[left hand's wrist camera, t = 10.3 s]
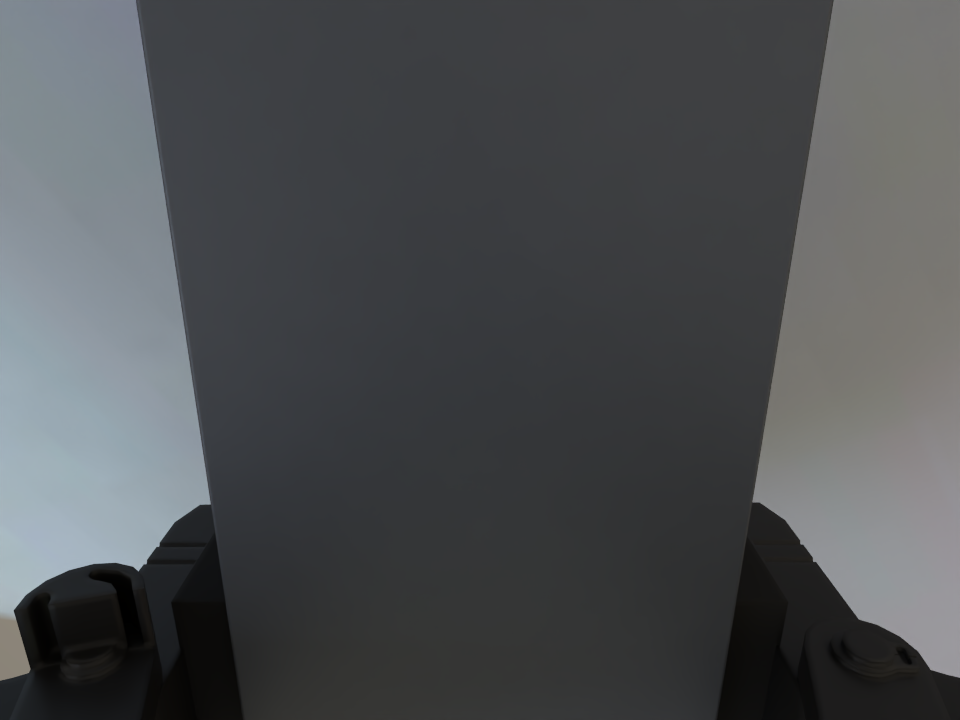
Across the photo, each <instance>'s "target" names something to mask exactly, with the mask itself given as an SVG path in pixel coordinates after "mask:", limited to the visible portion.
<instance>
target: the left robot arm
mask: <svg viewBox="0 0 960 720" xmlns="http://www.w3.org/2000/svg"><path fill="white" fill-rule="evenodd" d="M14 613H15V616H16V620H17V623H18V627H19V630H20V634H21V637H22V641H23V644H24V647H25V651H26V654H27V658H28V661H29V665H30V668H31V670H30V672H29V673H28V674H25V675H21V676H18V677H14V678H10V679H6V680H2V681H0V720H243V716H242V710H241V703H240V696H239V690H238V683H237V676H236V669H235V663H234V656H233V649H232V642H231V636H230V629H229V622H228V616H227V609H226V602H225V595H224V589H223V582H222V575H221V568H220V562H219V555H218V548H217V541H216V535H215V528H214V521H213V515H212V508H211V505H199V506H198V507H196V508H195V509H194V510H192V511H191V512H189V513H188V514H186V515H185V516H183V517H182V518H181V519H179V520H178V521H176V522H175V523H174V524H173V526H172V527H171V528H170V530H169V531H168V532H167V534H166V535H165V537H164V538H163V539H162V541H161V542H160V546H159V547H156V549H155V550H154V551H153V553H152V554H151V555H150V557H149V558H148V560H147V564H144V565H143V566H142V568H141V569H140V570H139V572H138V571H137V570H136V569H135V568H134V567H131V566H127V565H123V564H118V563H106V564H92V565H88V566H85V567H81V568H77V569H73V570H69V571H67V572H65V573H63V574H60V575H58V576H56V577H54V578H51V579H49V580H47V581H45V582H44V583H42V584H41V585H40V586H38V587H37V588H35V589H34V590H33V591H31V592H30V593H28V594H27V595H26V596H25V597H24V598H23V600H22V601H21V602H20V603H19V605H18V606H17V607H16V608H15V610H14ZM717 720H960V678H958V677H954V676H949V675H945V674H942V673H939V672H935V671H932V670H930V668H929V667H928V665H927V664H926V663H925V661H924V660H923V658H922V657H921V655H920V654H919V652H918V651H917V650H915V649H914V648H913V647H912V646H910V645H909V644H908V643H907V642H906V641H904V640H903V639H902V638H901V637H899V636H897V635H895V634H894V633H892V632H890V631H888V630H886V629H884V628H882V627H880V626H878V625H875V624H872V623H868V622H865V621H861V620H859V619H858V618H857V617H856V615H855V614H854V613H853V611H852V610H851V609H850V607H849V606H848V604H847V603H846V602H845V600H844V599H843V598H842V596H841V595H840V594H839V592H838V591H837V590H836V588H835V587H834V586H833V584H832V583H831V582H830V580H829V579H828V578H827V576H826V575H825V574H824V572H823V571H822V569H821V568H820V567H819V565H818V564H817V563H816V562H813V557H812V556H811V555H810V553H809V552H808V551H807V549H806V548H805V547H804V545H800V540H799V539H798V537H797V536H796V534H795V533H794V532H793V530H792V529H791V528H790V526H789V525H788V524H787V522H786V521H785V520H784V519H782V518H781V517H780V516H778V515H777V514H775V513H774V512H772V511H771V510H769V509H768V508H766V507H765V506H764V505H762V504H761V503H752V506H751V513H750V519H749V525H748V531H747V537H746V544H745V550H744V556H743V562H742V568H741V574H740V581H739V587H738V593H737V599H736V605H735V611H734V618H733V624H732V630H731V636H730V642H729V649H728V655H727V661H726V667H725V673H724V679H723V686H722V692H721V698H720V704H719V710H718V716H717Z"/></svg>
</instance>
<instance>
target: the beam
mask: <svg viewBox="0 0 960 720" xmlns="http://www.w3.org/2000/svg"><path fill="white" fill-rule="evenodd" d="M136 3H137V10H138V17H139V23H140V30H141V37H142V44H143V50H144V57H145V64H146V71H147V77H148V84H149V91H150V97H151V104H152V111H153V118H154V124H155V131H156V138H157V145H158V151H159V158H160V165H161V171H162V178H163V185H164V192H165V198H166V205H167V212H168V219H169V225H170V232H171V239H172V245H173V252H174V259H175V266H176V272H177V279H178V286H179V293H180V299H181V306H182V313H183V319H184V326H185V333H186V340H187V346H188V353H189V360H190V367H191V373H192V380H193V387H194V393H195V400H196V407H197V414H198V420H199V427H200V434H201V441H202V447H203V454H204V461H205V467H206V474H207V481H208V488H209V494H210V501H211V508H212V515H213V521H214V528H215V535H216V541H217V548H218V555H219V562H220V568H221V575H222V582H223V589H224V595H225V602H226V609H227V616H228V622H229V629H230V636H231V642H232V649H233V656H234V663H235V669H236V676H237V683H238V690H239V696H240V703H241V710H242V716H243V720H717V716H718V710H719V704H720V698H721V692H722V686H723V679H724V673H725V667H726V661H727V655H728V649H729V642H730V636H731V630H732V624H733V618H734V611H735V605H736V599H737V593H738V587H739V581H740V574H741V568H742V562H743V556H744V550H745V544H746V537H747V531H748V525H749V519H750V513H751V506H752V500H753V494H754V488H755V482H756V476H757V469H758V463H759V457H760V451H761V445H762V439H763V432H764V426H765V420H766V414H767V408H768V401H769V395H770V389H771V383H772V377H773V371H774V364H775V358H776V352H777V346H778V340H779V334H780V327H781V321H782V315H783V309H784V303H785V297H786V290H787V284H788V278H789V272H790V266H791V259H792V253H793V247H794V241H795V235H796V229H797V222H798V216H799V210H800V204H801V198H802V192H803V185H804V179H805V173H806V167H807V161H808V154H809V148H810V142H811V136H812V130H813V124H814V117H815V111H816V105H817V99H818V93H819V87H820V80H821V74H822V68H823V62H824V56H825V50H826V43H827V37H828V31H829V25H830V19H831V12H832V6H833V0H136Z"/></svg>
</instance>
